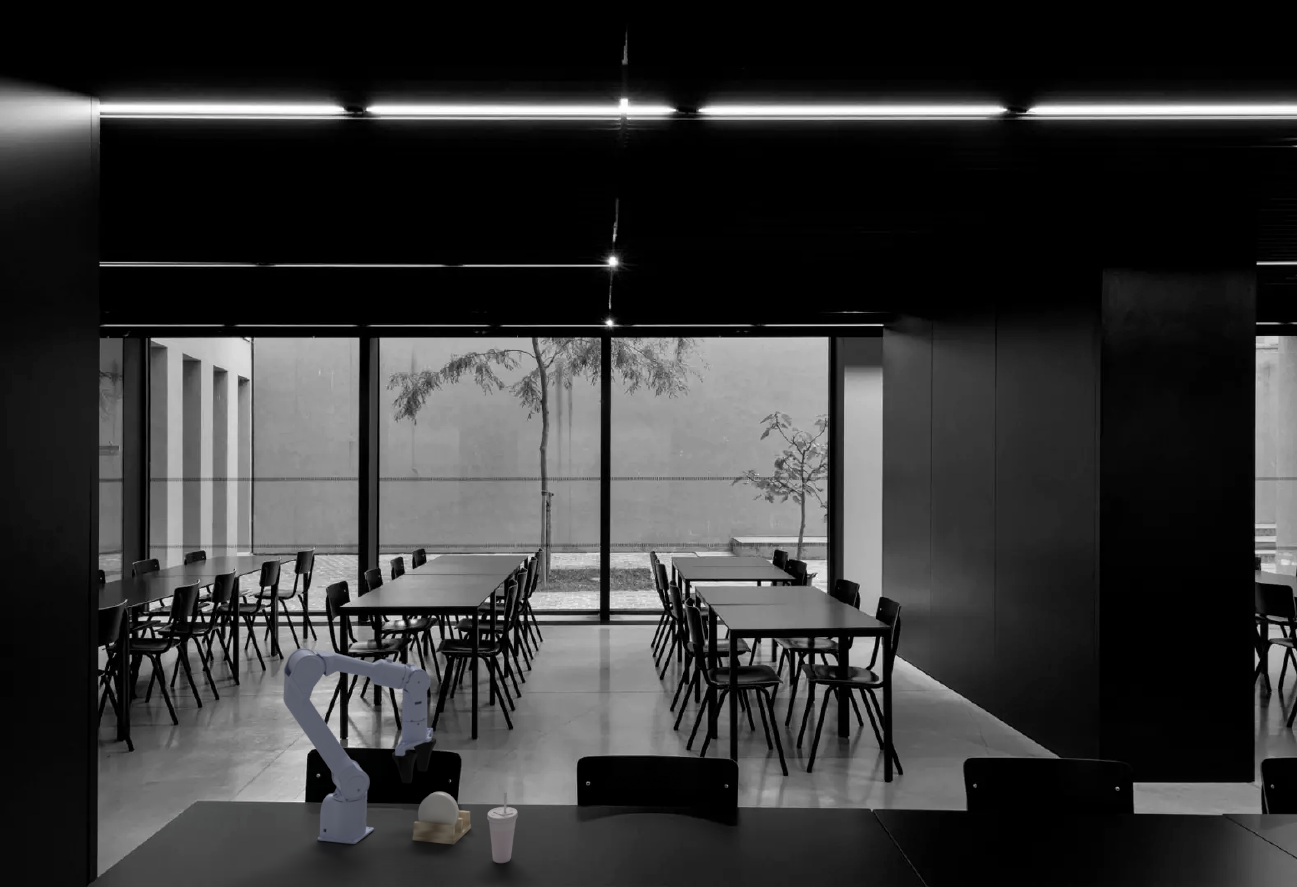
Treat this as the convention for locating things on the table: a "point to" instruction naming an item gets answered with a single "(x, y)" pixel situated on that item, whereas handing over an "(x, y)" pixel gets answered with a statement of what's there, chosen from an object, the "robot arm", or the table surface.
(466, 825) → the rack
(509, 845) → the smoothie
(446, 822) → the plate
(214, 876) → the table surface
